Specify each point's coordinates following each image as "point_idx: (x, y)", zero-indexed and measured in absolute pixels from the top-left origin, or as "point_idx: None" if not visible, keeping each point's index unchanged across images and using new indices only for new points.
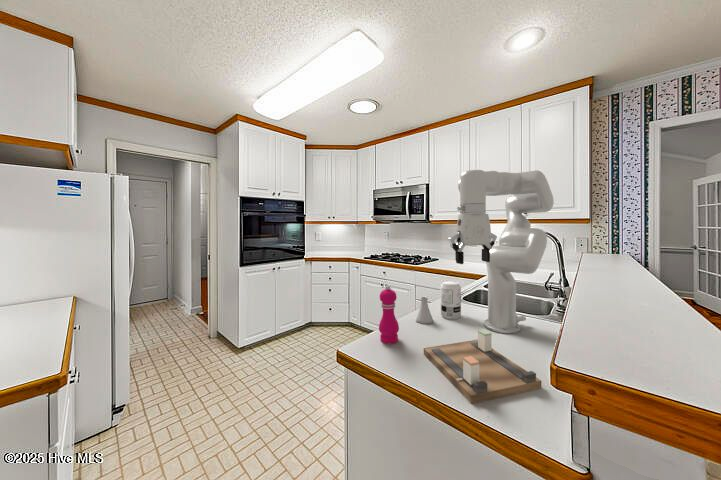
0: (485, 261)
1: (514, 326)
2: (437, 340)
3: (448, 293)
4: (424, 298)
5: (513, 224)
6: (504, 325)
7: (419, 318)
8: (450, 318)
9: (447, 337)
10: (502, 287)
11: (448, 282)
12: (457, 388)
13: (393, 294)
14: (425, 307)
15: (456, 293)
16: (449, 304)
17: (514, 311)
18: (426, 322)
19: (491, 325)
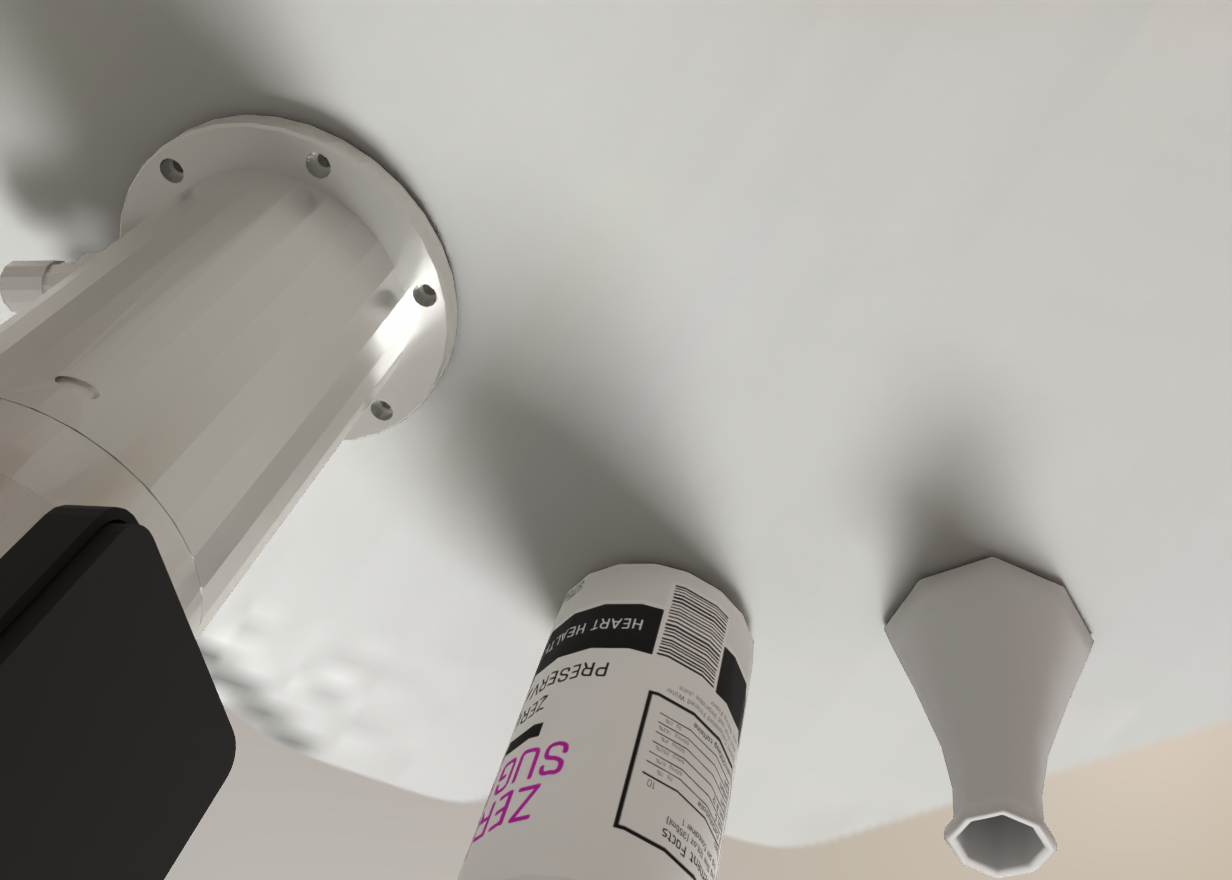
0: (176, 616)
1: (189, 187)
2: (1162, 190)
3: (670, 806)
4: (976, 847)
5: None
6: (293, 200)
7: (1070, 648)
8: (699, 581)
9: (997, 226)
10: (47, 458)
11: None
12: None
13: None
14: (1005, 726)
15: (573, 774)
16: (684, 694)
17: (94, 258)
18: (1015, 576)
19: (400, 291)
